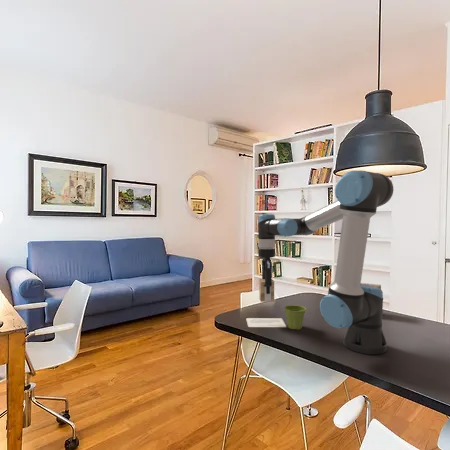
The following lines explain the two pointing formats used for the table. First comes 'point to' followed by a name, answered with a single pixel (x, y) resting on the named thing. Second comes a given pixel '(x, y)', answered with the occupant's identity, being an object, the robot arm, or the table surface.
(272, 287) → the oak block
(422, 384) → the table surface
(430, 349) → the table surface
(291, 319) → the plant pot
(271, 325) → the letter
